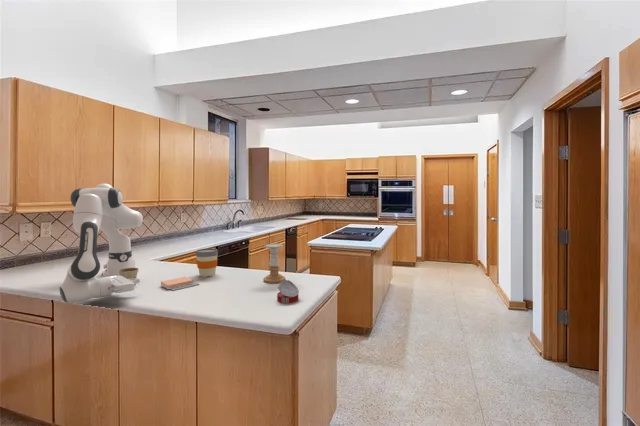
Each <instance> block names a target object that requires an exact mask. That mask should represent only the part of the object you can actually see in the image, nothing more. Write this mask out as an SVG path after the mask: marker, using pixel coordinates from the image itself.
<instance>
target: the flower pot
mask: <svg viewBox="0 0 640 426" xmlns="http://www.w3.org/2000/svg"><path fill="white" fill-rule="evenodd" d="M138 270H139V271H140V269H139V267H136V268H125V269H121V270H119V271H118V272H119V274H120V276H123V277H125V278H126V279H135V278H137V279H138V277H137V276H138V273H139V271H138ZM136 285H137V283H136V284H134V286H136Z"/></svg>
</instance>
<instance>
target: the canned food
mask: <svg viewBox="0 0 640 426" xmlns="http://www.w3.org/2000/svg"><path fill="white" fill-rule="evenodd" d="M277 288H278V291H279V292H278V293H277V294H276V297H277V298H276V299H277V300H276V301H277V302H278V303H281V304H293V302H294V303H297V302H298V301H299V292H300V291H299V289H298V287H297V286H296V284H295V283H293V282H292V281H291V280H290V279H285V280H284V281H282V282H280V283H278V287H277ZM296 301H297V302H296Z"/></svg>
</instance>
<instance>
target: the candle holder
mask: <svg viewBox="0 0 640 426" xmlns="http://www.w3.org/2000/svg"><path fill="white" fill-rule="evenodd" d="M283 247H284V244H282V243H267V244H264V248H266V249H268V250H269V251H270V254H269V257H270V259H269V263H268V265H269V266H270V267H269V268H268V269H269V274H267V275H266V276H264V277H263V279H262V280H263V282H264V283H267V284H280V283H281V282H282V281H284V280H286V277H285V276H284V275H282V274H281V273H279V270H280V266H279V265H280V262H279V260H278V257H279V254H278V251H279V249H281V248H283Z"/></svg>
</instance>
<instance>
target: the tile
mask: <svg viewBox="0 0 640 426" xmlns="http://www.w3.org/2000/svg"><path fill="white" fill-rule="evenodd" d="M193 282H194V280H193V279H191V278H189V277H186V276H183V277H182V276H181V277H175V278H172V279H167V280H162V281H161V280H160V286H161V287H163V288H166V289H167V290H170V289H172V288H176V287H181V286H185V285H189V284H193Z"/></svg>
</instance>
